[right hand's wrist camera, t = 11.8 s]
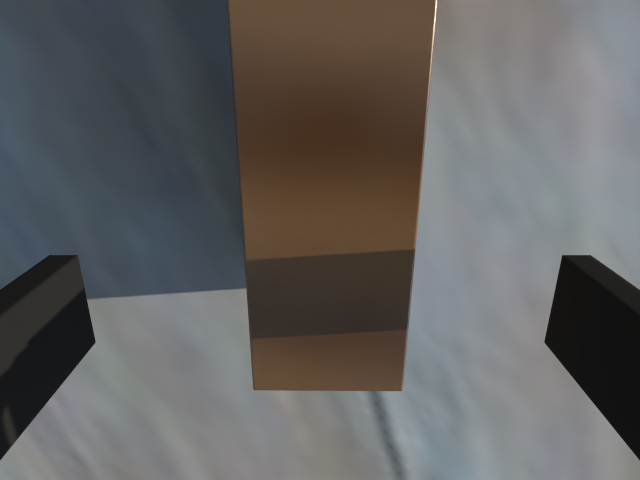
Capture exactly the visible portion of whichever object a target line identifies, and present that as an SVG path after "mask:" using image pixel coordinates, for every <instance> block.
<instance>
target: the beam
mask: <svg viewBox="0 0 640 480" xmlns="http://www.w3.org/2000/svg"><path fill="white" fill-rule="evenodd" d="M227 7H228V22H229V37H230V51H231V66H232V81H233V96H234V110H235V125H236V140H237V155H238V169H239V184H240V199H241V214H242V228H243V243H244V258H245V273H246V287H247V302H248V317H249V332H250V346H251V361H252V376H253V389H254V390H322V391H402V390H403V381H404V370H405V359H406V348H407V336H408V325H409V314H410V303H411V292H412V280H413V269H414V258H415V247H416V235H417V224H418V213H419V202H420V191H421V179H422V168H423V157H424V146H425V134H426V123H427V112H428V101H429V90H430V78H431V67H432V56H433V45H434V34H435V22H436V11H437V0H227Z"/></svg>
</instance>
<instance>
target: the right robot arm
mask: <svg viewBox="0 0 640 480" xmlns="http://www.w3.org/2000/svg"><path fill="white" fill-rule="evenodd" d="M94 344H95V337H94V332H93V327H92V323H91V318H90V313H89V308H88V303H87V298H86V294H85V289H84V284H83V279H82V274H81V269H80V264H79V260H78V255H49V256H48V257H46V258H45V259H43V260H42V261H41V262H39V263H38V264H36V265H35V266H34V267H32V268H31V269H29V270H28V271H26V272H25V273H24V274H22V275H21V276H19V277H18V278H17V279H15V280H14V281H12V282H11V283H9V284H8V285H7V286H5V287H4V288H2V289H1V290H0V460H1V459H2V457H3V456H4V455H5V454H6V452H7V451H8V450H9V449H10V447H11V446H12V445H13V444H14V443H15V441H16V440H17V439H18V438H19V436H20V435H21V434H22V433H23V431H24V430H25V429H26V428H27V426H28V425H29V424H30V423H31V421H32V420H33V419H34V418H35V417H36V415H37V414H38V413H39V412H40V410H41V409H42V408H43V407H44V405H45V404H46V403H47V402H48V400H49V399H50V398H51V397H52V396H53V394H54V393H55V392H56V391H57V389H58V388H59V387H60V386H61V384H62V383H63V382H64V381H65V379H66V378H67V377H68V376H69V374H70V373H71V372H72V371H73V370H74V368H75V367H76V366H77V365H78V363H79V362H80V361H81V360H82V358H83V357H84V356H85V355H86V353H87V352H88V351H89V350H90V349H91V347H92V346H93V345H94ZM545 344H546V345H547V346H548V347H549V349H550V350H551V351H552V352H553V353H554V355H555V356H556V357H557V358H558V360H559V361H560V362H561V363H562V365H563V366H564V367H565V368H566V370H567V371H568V372H569V373H570V374H571V376H572V377H573V378H574V379H575V381H576V382H577V383H578V384H579V386H580V387H581V388H582V389H583V391H584V392H585V393H586V394H587V396H588V397H589V398H590V399H591V400H592V402H593V403H594V404H595V405H596V407H597V408H598V409H599V410H600V412H601V413H602V414H603V415H604V417H605V418H606V419H607V420H608V421H609V423H610V424H611V425H612V426H613V428H614V429H615V430H616V431H617V433H618V434H619V435H620V436H621V438H622V439H623V440H624V441H625V443H626V444H627V445H628V446H629V447H630V449H631V450H632V451H633V452H634V454H635V455H636V456H637V457H638V459H639V460H640V290H639V289H638V288H636V287H635V286H633V285H632V284H631V283H629V282H628V281H626V280H625V279H623V278H622V277H621V276H619V275H618V274H616V273H615V272H614V271H612V270H611V269H609V268H608V267H606V266H605V265H604V264H602V263H601V262H599V261H598V260H597V259H595V258H594V257H592V256H591V255H562V260H561V264H560V269H559V274H558V279H557V284H556V289H555V294H554V298H553V303H552V308H551V313H550V318H549V323H548V327H547V332H546V337H545Z"/></svg>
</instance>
